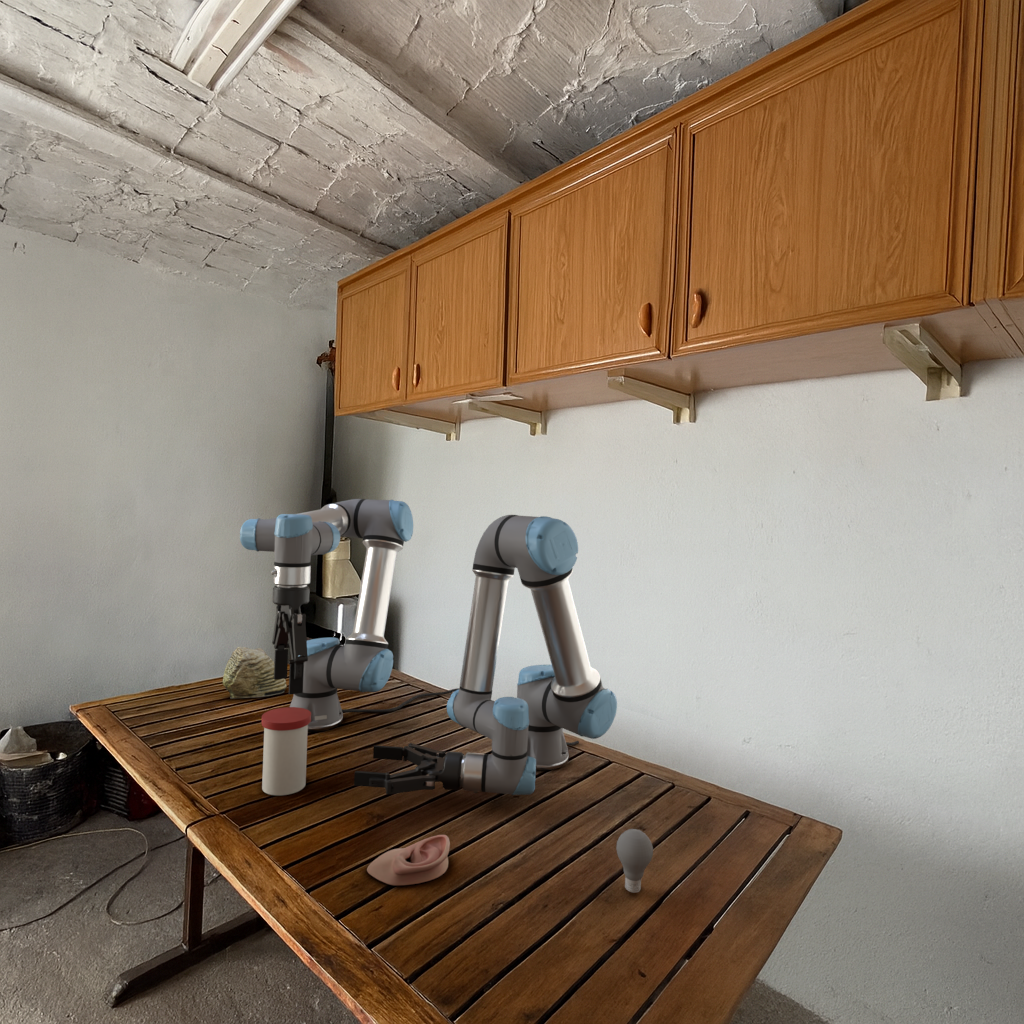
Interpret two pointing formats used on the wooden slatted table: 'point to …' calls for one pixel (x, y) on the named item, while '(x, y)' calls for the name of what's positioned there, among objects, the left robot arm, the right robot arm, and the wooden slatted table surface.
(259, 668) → the fossil
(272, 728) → the lid
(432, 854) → the anatomical model
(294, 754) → the jar
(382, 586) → the left robot arm
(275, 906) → the wooden slatted table surface
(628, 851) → the light bulb
